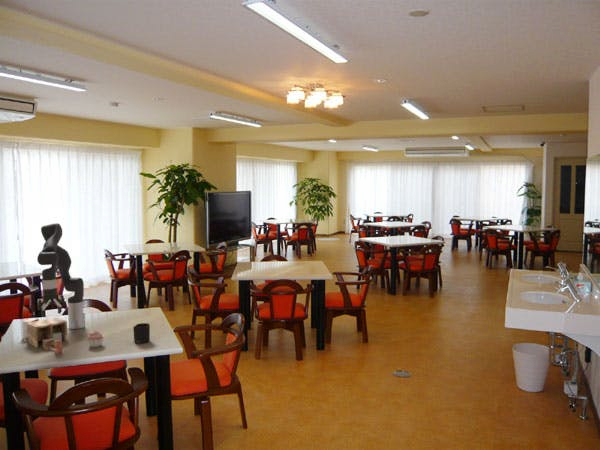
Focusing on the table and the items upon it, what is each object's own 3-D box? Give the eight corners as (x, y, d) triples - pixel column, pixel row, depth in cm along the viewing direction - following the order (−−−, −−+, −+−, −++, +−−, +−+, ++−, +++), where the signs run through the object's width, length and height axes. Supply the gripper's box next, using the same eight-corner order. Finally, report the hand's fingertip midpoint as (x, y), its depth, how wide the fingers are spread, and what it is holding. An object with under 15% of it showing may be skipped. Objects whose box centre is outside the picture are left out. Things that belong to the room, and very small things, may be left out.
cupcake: (91, 343, 312) (90, 327, 311) (106, 343, 312) (106, 327, 311) (84, 348, 303) (83, 331, 302) (100, 348, 302) (99, 331, 302)
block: (58, 339, 322) (58, 331, 322) (61, 340, 319) (61, 332, 318) (50, 340, 319) (49, 332, 318) (53, 342, 315) (52, 334, 315)
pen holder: (131, 341, 316) (130, 325, 315) (146, 338, 322) (145, 322, 321) (137, 345, 308) (137, 328, 308) (152, 341, 314) (152, 325, 314)
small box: (30, 338, 324) (30, 321, 323) (22, 338, 325) (22, 321, 324) (39, 334, 331) (38, 318, 331) (31, 334, 333) (31, 318, 332)
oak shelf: (58, 336, 328) (57, 317, 327) (67, 340, 318) (66, 321, 317) (27, 342, 315) (26, 322, 314) (36, 347, 306) (35, 327, 305)
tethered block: (51, 346, 308) (51, 334, 307) (64, 352, 295) (63, 340, 295) (42, 348, 304) (42, 336, 304) (55, 355, 292) (54, 342, 291)
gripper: (59, 284, 307) (61, 311, 308) (34, 288, 296) (36, 316, 298) (65, 285, 302) (67, 313, 303) (39, 290, 291) (41, 318, 293)
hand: (51, 315), depth 301 cm, fingers open, 8 cm apart
